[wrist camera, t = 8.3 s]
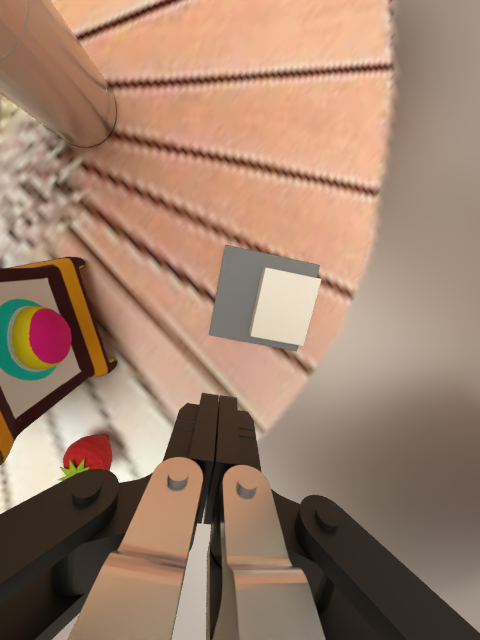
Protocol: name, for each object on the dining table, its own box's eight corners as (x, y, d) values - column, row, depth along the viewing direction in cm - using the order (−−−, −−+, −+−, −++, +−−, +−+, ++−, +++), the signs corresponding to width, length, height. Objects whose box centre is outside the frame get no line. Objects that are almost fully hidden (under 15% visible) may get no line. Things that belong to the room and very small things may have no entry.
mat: (209, 334, 39) (208, 335, 39) (225, 244, 36) (225, 244, 36) (296, 350, 40) (296, 351, 40) (319, 265, 37) (320, 265, 37)
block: (250, 336, 36) (303, 346, 36) (265, 267, 34) (321, 279, 34) (248, 330, 39) (297, 339, 40) (262, 267, 37) (313, 277, 37)
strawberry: (103, 460, 44) (67, 516, 34) (78, 427, 42) (32, 477, 33) (131, 446, 44) (103, 499, 34) (107, 413, 42) (70, 459, 32)
